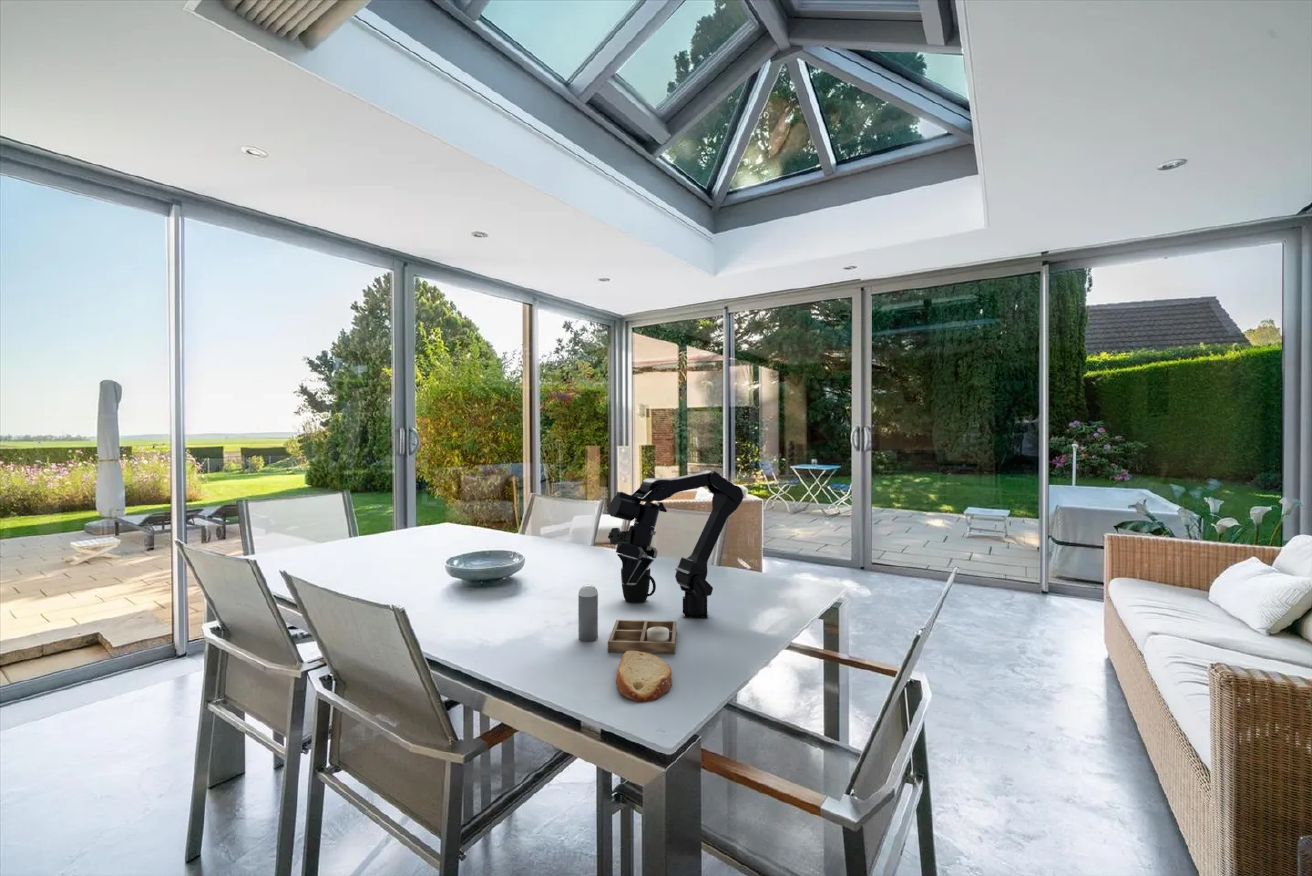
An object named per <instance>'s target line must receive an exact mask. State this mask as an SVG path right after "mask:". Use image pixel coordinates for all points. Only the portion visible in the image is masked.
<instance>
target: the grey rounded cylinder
mask: <svg viewBox="0 0 1312 876" xmlns="http://www.w3.org/2000/svg"><path fill="white" fill-rule="evenodd" d="M577 596H578V597H577V598H578V600H577V601H578V605H577V606H578V610H577V611H578V613H577V615H578V618H577V619H578V623H577V624H578V626H577V627H578V629H577V630H578V631H577V632H578V641H580V642H583V643H591V642H595V641H597V640H598V639H599V624H598V623H599V615H598V614H599V593H598V589H597V588H596V586H595V585H593V584H590V583H589V584H588V583H587V584H584V585H582V586H581V587H580V588H579V590H578V594H577Z"/></svg>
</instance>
